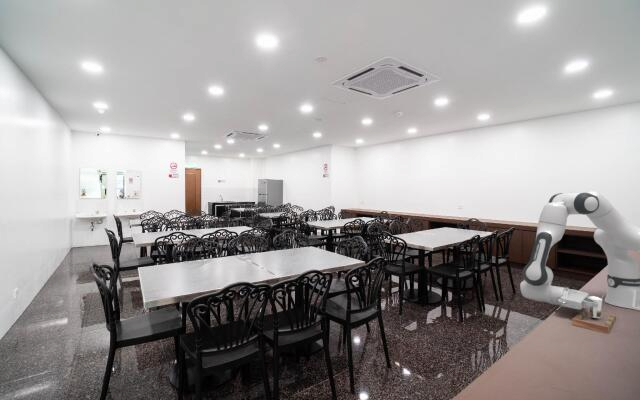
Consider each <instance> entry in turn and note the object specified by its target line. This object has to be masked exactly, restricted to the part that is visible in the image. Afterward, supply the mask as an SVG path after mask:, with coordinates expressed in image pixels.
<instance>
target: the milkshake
mask: <svg viewBox="0 0 640 400" xmlns="http://www.w3.org/2000/svg"><path fill="white" fill-rule="evenodd" d="M604 296H605V295H604V294H602V296H601V297H599V296H595V295H592V296H591V295H589V302H595V303H598V307H597V308H596V307H589V313H590V317H591V318H594V319H601V315H602V306H603V305H602V304H603V298H604Z"/></svg>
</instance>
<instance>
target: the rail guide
mask: <svg viewBox="0 0 640 400" xmlns="http://www.w3.org/2000/svg"><path fill="white" fill-rule="evenodd" d="M586 315H588V308H587V307H583V308H582V309H580V310H579V312H578V313H577V314H576V315H575V316H574V317H572V318H571V325H572V326H575V327H579V328H583V329H588V330H591V331H596V332H599V333H600V332H601V333H603V334H609V333H610V331H611V329H612V327H613V325H614V323H615V321H616V320H617V315H616V314H615V313H610V314H609V316H608V317H607V320H606V322H604V324H599V323H595V322H591V321H588V320H583V319H584V318H585V316H586Z"/></svg>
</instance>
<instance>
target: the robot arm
mask: <svg viewBox="0 0 640 400" xmlns="http://www.w3.org/2000/svg"><path fill="white" fill-rule="evenodd" d="M570 215H585V216H586V217H588V219H589V221H591V223H592V224H593V225H594V226H595V227H596V228H597V229H596V230H595V232H594V233H593V239H594V241H595V243H596V244H597V245H599V246H600V247H601V248H602V250H603V252H604V254H605V256H606V260H607V268H608V269H607V270H608V271H607V272H608V274H607V275H606V281H607V289H606V295H605V298H604V300H603V301H604V303H606V304H609V305H611V306H616V307H620V308H624V309H625V308H626V309H631V310H636V311H640V263H639V262H638V260H637V259H635V258H634V257H632V256H631V255H630V253H629V251H633V252H640V226H638V225H636V224H634V223H633V222H631V221H630V220H628V219H627V218H626V217H624V216H623V215H622V214H621V213H620V212H619V211H618V210H617V209H616V208H615V206H614V205H613V204H612V203H611V202H610V201H609V200H608V199H607V198H606V197H605V196H604V195H602V194H601V193H600V192H597V191H595V190H590V191H586V192H575V191H574V192H573V191H572V192H564V193H562V192H560V193H556V194H554V195H552V196H551V197H550V198H549V200H548V203H546V204H545V205H544V206H543V208H542V210H541V213H540V216H539V219H538V222H537V228H536V235H535V236H536V237H535V241H534V245H533V248H532V252H531V255H530V257H529V261H528V263H526V265H525V266H524V267H523V269H522V272H521V275H522V278H523V280H522V281H521V282H520V284H519V289H520V293H521V295H522V297H524V298H525V299H528V300H531V301H535V302H540V303H548V304H549V305H554V306H559V307H566V308H570V309H575V310H581V309H582V308H584V307H585V308H587V307H589V308H590V307H596V308H597V307H598V303H595V302H589V297H590V293H588V292H585V291H581V290H577V289H572V288H569V287H568V286H555V285H552V284H553V278H554V272H553V271H552V269H551V268H550V267H549V266H547V265H546V264H547V262H548V261H547V260H548V259H549V253H550V250H551V248H552V247H553V246H554V245H556V243H558V242H560V241H561V240H562V238H563V236H564V234H565V232H566V227H567V221H568V217H569V216H570Z"/></svg>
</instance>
